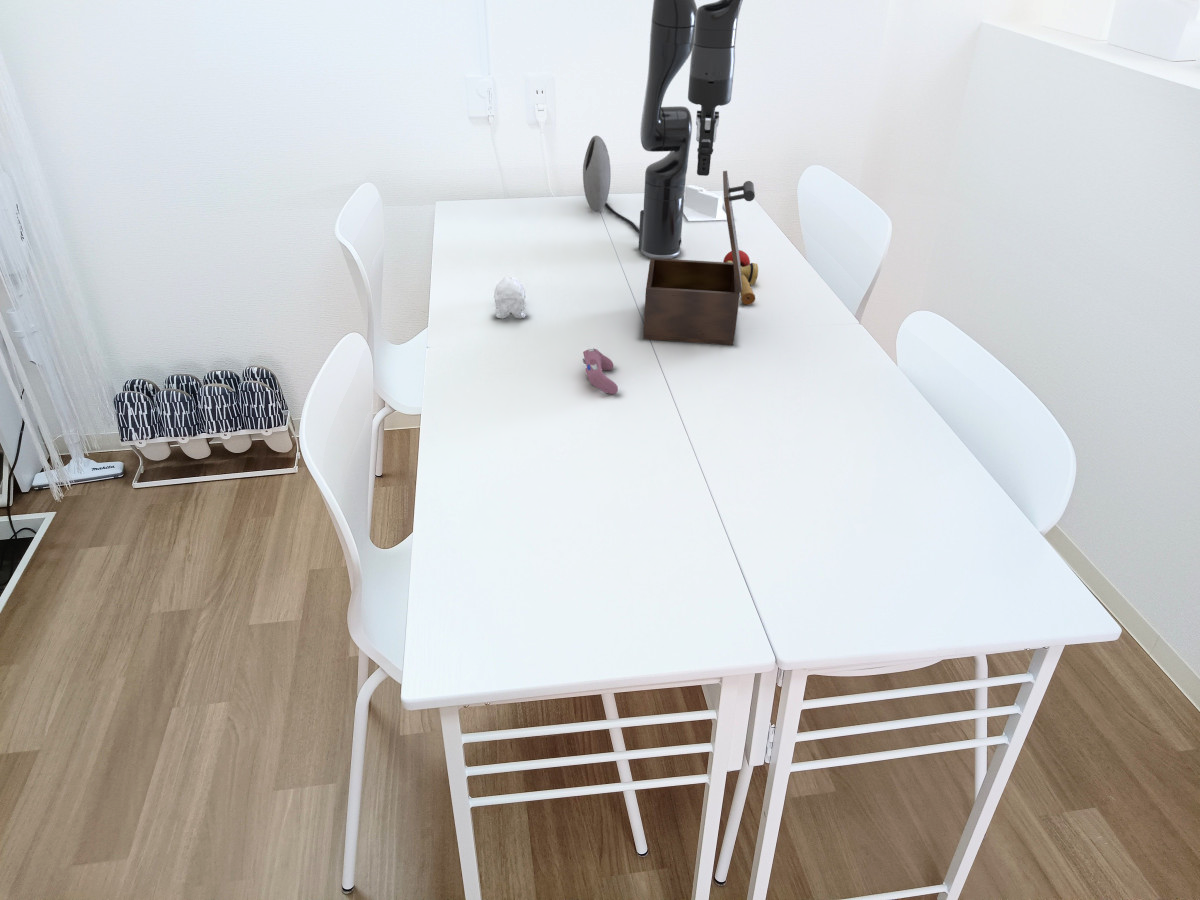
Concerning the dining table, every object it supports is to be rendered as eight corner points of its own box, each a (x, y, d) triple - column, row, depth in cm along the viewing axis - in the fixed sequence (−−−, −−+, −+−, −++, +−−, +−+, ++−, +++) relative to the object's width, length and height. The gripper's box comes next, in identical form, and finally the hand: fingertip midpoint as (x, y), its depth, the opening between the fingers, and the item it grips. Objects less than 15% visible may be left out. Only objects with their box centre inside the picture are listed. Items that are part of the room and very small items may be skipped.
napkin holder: (731, 219, 226) (733, 198, 222) (688, 221, 224) (690, 199, 221) (715, 199, 238) (717, 178, 234) (675, 201, 236) (676, 180, 233)
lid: (723, 197, 154) (754, 191, 152) (722, 171, 166) (751, 165, 164) (737, 292, 164) (766, 288, 163) (736, 261, 176) (763, 256, 175)
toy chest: (642, 339, 172) (645, 288, 165) (647, 306, 184) (650, 257, 177) (733, 345, 170) (739, 294, 164) (732, 311, 182) (737, 263, 176)
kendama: (767, 309, 186) (752, 264, 199) (767, 285, 182) (751, 240, 195) (732, 315, 187) (718, 270, 200) (730, 291, 182) (717, 246, 195)
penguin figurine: (492, 283, 171) (496, 263, 181) (494, 323, 175) (497, 302, 185) (524, 283, 171) (526, 264, 181) (525, 323, 175) (527, 302, 186)
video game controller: (593, 375, 163) (576, 346, 159) (615, 365, 162) (599, 336, 158) (597, 403, 155) (580, 374, 151) (620, 393, 154) (603, 363, 150)
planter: (581, 197, 237) (581, 126, 226) (607, 197, 237) (609, 127, 226) (584, 222, 222) (584, 148, 211) (611, 222, 222) (614, 148, 211)
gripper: (690, 62, 155) (683, 154, 164) (688, 81, 143) (681, 179, 153) (732, 64, 154) (723, 156, 164) (734, 83, 143) (724, 181, 152)
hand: (703, 167), depth 158 cm, fingers open, 8 cm apart
